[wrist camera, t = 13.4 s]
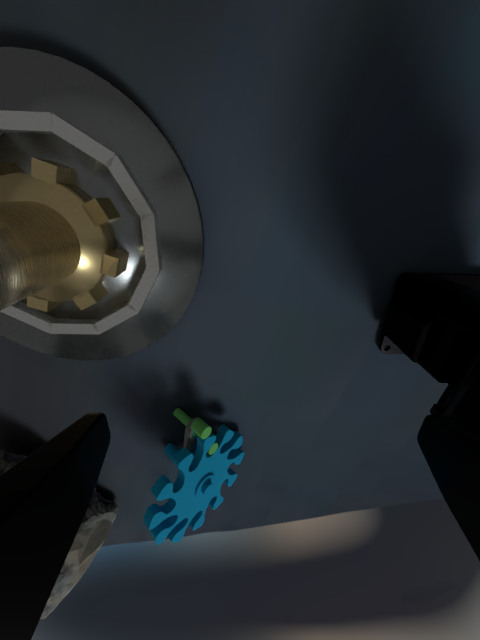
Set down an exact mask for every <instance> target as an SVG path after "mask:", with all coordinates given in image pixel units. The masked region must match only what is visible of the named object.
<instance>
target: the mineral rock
mask: <svg viewBox="0 0 480 640" xmlns="http://www.w3.org/2000/svg"><path fill="white" fill-rule="evenodd" d="M26 457H27V456H25V455H18V454H13V453H8V452H7V451H6V450H4V449H1V448H0V475H2V474H3V473H4V472H6V471H7V470H9V469H10V468H12V467H13V466H14V465H16V464H17V463H19V462H20V461H21V460H23V459H24V458H26ZM117 510H118V506H117V504H116V503H115V502H114V501H110V500H108V499H106V498H103V497H102V495H101V494H100V493H98V492H96V488H95V490H94V493H93V496H92V499H91V501H90V504H89V506H88V509H87V511H86V514H85V516H84V518H83V521H82V523H81V525H80V528H79V530H78V532H77V535H76V537H75V539H74V542H73V544H72V546H71V548H70V551H69V553H68V555H67V558H66V560H65V562H64V565H63V567H62V569H61V572H60V574H59V576H58V578H57V581H56V583H55V585H54V588H53V590H52V592H51V595H50V597H49V599H48V602H47V604H46V606H45V608H44V611H43V613H42V615H41V618H40V619H45V618H46V617H47V616H48V615H49V614H50V613H51V612H52V611H53V610H54V609H55V608H56V607H57V605H58V604H59V602H61V600H62V599H63V598H64V597H65V596H66V595H67V594H68V593H69V592H70V591H71V590H72V588H73V587H74V586H75V585H76V583H77V582H78V581H79V580H80V578H81V577H82V576H83V574H84V573H85V571H86V570H87V568H88V567H89V565H90V563H91V562H92V560H93V559H94V557H95V555H96V553H97V552H98V550H99V548H100V547H101V545H102V544H103V542H104V541H105V539H106V538H107V536H108V534H109V532H110V530H111V527H112V523H113V521H114V520H115V518H116V515H117Z"/></svg>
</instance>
